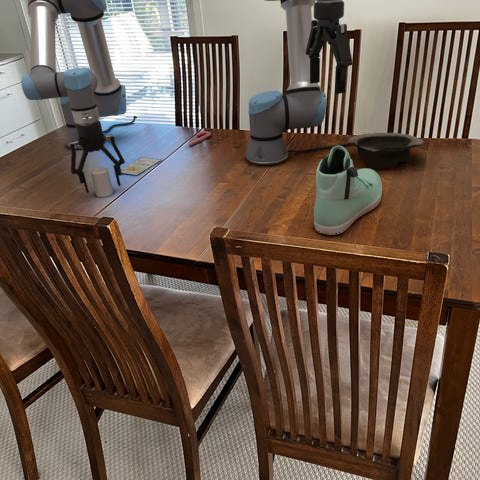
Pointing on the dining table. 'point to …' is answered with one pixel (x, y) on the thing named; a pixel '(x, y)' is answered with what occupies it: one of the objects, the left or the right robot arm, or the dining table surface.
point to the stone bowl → (384, 148)
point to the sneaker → (343, 192)
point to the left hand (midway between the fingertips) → (103, 187)
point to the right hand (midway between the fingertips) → (326, 87)
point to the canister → (102, 182)
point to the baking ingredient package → (139, 166)
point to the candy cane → (206, 135)
